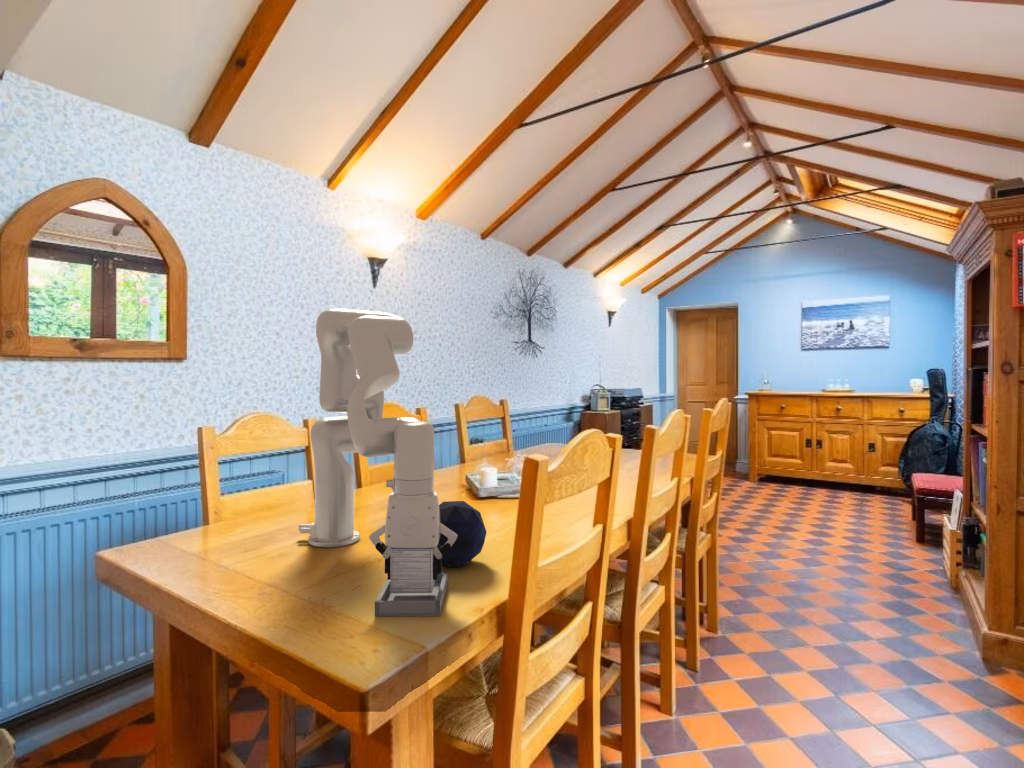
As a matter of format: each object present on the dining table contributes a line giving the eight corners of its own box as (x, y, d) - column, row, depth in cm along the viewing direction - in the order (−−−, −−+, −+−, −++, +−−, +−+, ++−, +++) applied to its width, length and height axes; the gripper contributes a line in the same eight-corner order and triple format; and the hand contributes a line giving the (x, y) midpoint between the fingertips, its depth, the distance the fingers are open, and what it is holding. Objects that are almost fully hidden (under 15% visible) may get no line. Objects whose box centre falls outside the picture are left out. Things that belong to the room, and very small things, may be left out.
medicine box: (434, 584, 107) (435, 540, 106) (432, 594, 102) (432, 548, 102) (394, 584, 106) (394, 540, 106) (389, 594, 102) (390, 548, 102)
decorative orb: (469, 525, 136) (439, 482, 130) (509, 539, 125) (478, 493, 118) (431, 570, 129) (397, 527, 122) (469, 589, 118) (434, 543, 111)
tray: (374, 616, 97) (374, 602, 97) (391, 584, 112) (391, 572, 112) (439, 616, 98) (439, 602, 97) (447, 584, 112) (447, 572, 112)
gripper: (363, 490, 100) (362, 584, 101) (458, 491, 101) (457, 585, 101) (372, 481, 108) (372, 569, 108) (461, 482, 108) (460, 570, 109)
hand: (413, 576), depth 105 cm, fingers closed on medicine box, 8 cm apart
